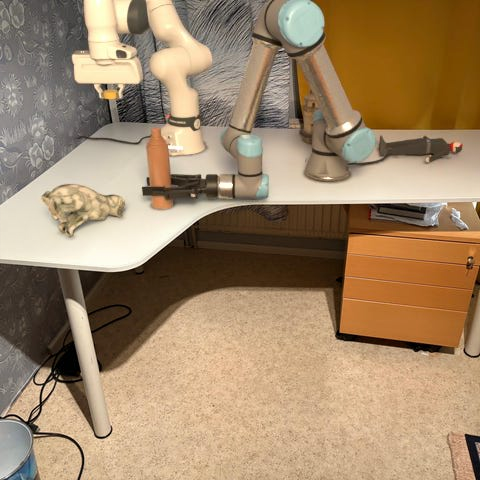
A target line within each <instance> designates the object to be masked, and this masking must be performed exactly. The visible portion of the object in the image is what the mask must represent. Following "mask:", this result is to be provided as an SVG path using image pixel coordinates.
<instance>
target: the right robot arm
mask: <svg viewBox="0 0 480 480" xmlns="http://www.w3.org/2000/svg"><path fill="white" fill-rule="evenodd" d="M325 23H326V22H325V17H324V13H323V11H322V9H321V8H320V7H319V6H318V4H316V3H315V2H314V1H312V0H267V1H266V2H265V3H264V5H263V6H262V8H261V10H260V11H259V14H258V16H257V19H256V22H255V25H254V27H253V31H252V34H251V40H252V46H251V49H250V53H249V57H248V60H247V63H246V66H245V69H244V73H243V76H242V79H241V83H240V86H239V89H238V93H237V96H236V99H235V103H234V106H233V109H232V112H231V115H230V120H229V122H228V125H227V127H226V128H224V130H222V132H221V133H220V136H219V140H220V144H221V146H222V148H223V149H224V150H225V151H226V152H227V153H229V154H230V155H231V157H233V158H234V160H235V161H236V162H237V173H220V174H219V175H218V174H216V173H214V174H213V173H210V174H209V173H208V174H206V175H205V177H204V178H202V174H201V173H200V174H199V173H198V174H184V173H183V174H181V173H171V184H172V187H169V188H165V186H163V187H150V180H149V176H146V178H145V179H146V186H142V187H141V193H142V196H143V197H151V196H164V197H165V199H166V200H168V199H173V200H187V199H188V200H198V198H199V196H200V195H205V198H207V199H213V200H217V199H218V198H219V199H227V200H230V199H232V200H233V199H238V200H239V199H241V200H243V199H245V200H246V199H247V200H248V199H249V200H259V199H261V200H262V199H266V198H268V197H269V193H270V192H269V191H270V188H269V187H270V186H269V185H270V183H269V182H270V181H269V180H270V176H269V175H268V174H266V173H263V155H264V154H263V152H264V147H263V139H262V138H261V136H260V135H256V134H253V133H252V131H253V128H254V124H255V122H256V119H257V115H258V112H259V109H260V106H261V102H262V100H263V97H264V94H265V91H266V88H267V86H268V85H267V84H268V82H269V78H270V75H271V72H272V69H273V66H274V62H275V59H276V57H277V53H278V51H280V50H281V49H284V51H285V53H286V56H287V57H288V58H289V59H293V60H295V61H296V63H297V66H298V67H299V69H300V71H301V74H303V77H304V79H305V81H306V84H307V85H308V88H309V90H310V89H311V91H312V93H313V96H314V98H315V100H316V102H317V104H318V106H319V108H320V109H319V110H317V111H315V113H314V118H313V135H312V143H311V153H310V155H309V158H308V160H307V157H306V158H305V160H307V161H305V164H306V166H305V169H304V170H305V171H304V173H305V175H306V176H307V178H309V179H311V180H313V181H314V180H315V181H316V182H317V181H318V182H324V183H325V182H326V183H335V182H341V181H343V180H346V179H348V177H350V166H362V165H371V164H375V163H376V164H377V163H379V162H382V161H384V160H386V159H387V158H388V157H389V156H391V155H392V154H386V155H384V156H383V157H382V158H380V159H376V160H373V161H365V160H367V159H368V158H370V156H371V155H372V154H373V152H374V149H375V147H376V145H377V135H376V133H375V131H373V130H372V128H370V127H367V126H366V124H365V121H364V120H363V117H362V115H361V113H360V112H359V111H358V110H356V109H353V107H352V105H351V102H350V101H349V98H348V96H347V94H346V92H345V89H344V87H343V85H342V83H341V81H340V78H339V76H338V74H337V72H336V69H335V67H334V65H333V63H332V61H331V58H330V56H329V54H328V52H327V50H326V48H325V45H324V42H326V37H327V36H326V33H325V30H324V28H325ZM450 144H451V143H448V145H450Z"/></svg>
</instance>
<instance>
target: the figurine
mask: <svg viewBox="0 0 480 480" xmlns="http://www.w3.org/2000/svg"><path fill="white" fill-rule="evenodd" d="M40 200H41V201H42V202H43V204H44V205H46V206H47V207H48V211H49V213H50V215H52V216H51V217H52V219H53V220H55V221H59V223H60V224H59V225H58V226H57V228H58V230H59V232H60V233H61V234H64V233H65V234H66V236H67V237H69V238H71V237H73V235H74V230H75V229H77V228H78V227H79V226H81V225H82V224H84V223H86V222H87V221H89V220H91V221H101V220H102V221H104V220H105V219H106V218H107V217H108V215H110V216H112V217H119V218H121V217H123V211H124V209H125V208H126V202H125V201H126V199H125V198H124V197H123V196H120V195H118V194H114V193H113V194H112V193H111V194H101V193H99V192H98V191H96V190H94V189H93V188H90V187H88V186H85V185H81V184H78V183H77V184H76V183H64V184H60V185H58V186H56V187H54V188H52V190H51V191H50V190H46V191H45V192H44V193H43V194H42V195H41V196H40ZM66 214H67V215H66Z"/></svg>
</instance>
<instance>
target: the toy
mask: <svg viewBox="0 0 480 480" xmlns="http://www.w3.org/2000/svg"><path fill="white" fill-rule="evenodd" d="M448 144H450V145H448ZM378 147H379V156H380V157H384V156H386V155H387V154H391V155H395V156H396V155H417V156H423V155H426V154H430V155H429V156H428V157H425V162H426V163H431V162H434V161H435V160H436V159H439V158H446V157H448V156H449V154H450V152H451V153H455V154H459V153H461V152H462V150H463V147H464V146H463V143H462V142H460V141H452V142H450V143H448V142H447V141H446V140H445V139H444V138H443V137H438V138H429V137H428V136H427V135H420V136H419V138H412V139H404V140H399V141H390V142H386V141H385V139H384V137H383V135H382V134H381V135H379V144H378ZM432 154H433V155H432Z"/></svg>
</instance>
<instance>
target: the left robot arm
mask: <svg viewBox="0 0 480 480" xmlns="http://www.w3.org/2000/svg"><path fill="white" fill-rule="evenodd" d="M83 18H84V24H85V27H86V28H87V29H86V30H87V43H88V44H87V45H88V49H87V50H85V49H84V50H80V49H79V50H75V51H74V52H73V53H72V55H71V60H72V64H73V76H74V81H75V82H76V83H77V84H93V86H94V89H95V90H96V91H97V94H98V95H99V96H98V97H99V99H105V98H104V91H105V90H103V88H102V87H101V86H102V84H104V85H107V84H109V85H112V84H113V85H117V87H118V88H119V90H118V91H117V93H116V98H115V99H118V100H121V99H123V98H124V95H123V94H124V93H123V92H124V89H125V87H126V85H139V84H141V82H143V80H144V73H143V68H142V63H141V61H140V58H138V56H137V54H138V50H137V48H136V47H134V46H131V45H128V44H126V43H123V42H120V37H119V35H125V34H126V35H129V34H130V35H144V34H145V33H146V32H147V31H148V30H149V29H151V31H152V34H153V36H154V38H155V39H156V40H157V41H158V42H160V43H162V44H164V45H166V46H167V47H168V48H167V47H166V48H162V49H160V50H157V51H155V52H154V53H152V55H151V56H150V59H149V69H150V71H151V72H150V73H151V74H152V75H153V77H154V78H155V79H156V80H158V81H159V82H161V83H162V85H163V87H165V89H166V92H167V96H168V102H169V106H170V107H169V108H170V109H169V110H170V113H168V114H167V115H165V119H166V120H167V123H166V124H164V125H163V126H162V127H160V128H161V135H162V136H163V137H164V139H165V140H166V141H167V143H168V146H169V156H174V157H175V156H176V157H177V156H182V155H183V156H186V155H194V154H199V153H201V152H204V151H205V149H206V145H205V142H204V139H203V138H204V137H203V133H202V127H201V126H202V115H201V112H200V100H199V99H200V98H199V97H200V95H199V93H198V92H197V90H196V89H195V88H193V87H191V86H189V85H188V82H187V81H188V80H187V78H188V77H193V76H198V75H201V74H203V73H205V72H207V71H209V70H210V69H211V67H212V66H213V54H212V52H211V50H210V48H209V47H208V46H207V45H205V44H203V43H201V42H199V41H198V40H197V39H196V38H194V36H192V34H190V33H189V31H188V30H187V29H186V27H185V26H184V24H183V22H182V20H181V18H180V16H179V14H178V11H177V9H176V7H175V4H174V2H173V0H83ZM151 136H152V135H151V134H150V135H146V136H143V137H141V138H140V139H139V140H138V141H136V142H131V141H126V140H121V139H120V140H119V139H115V138H112V137H111V138H110V137H91V136H87V135H80V136H78V137H77V140H79V139H81V138H84V139H88V140H107V141H113V142H118V143H124V144H128V145H139V144H140V143H141V142H142V141H143V140H145V139H149V138H150V137H151Z"/></svg>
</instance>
